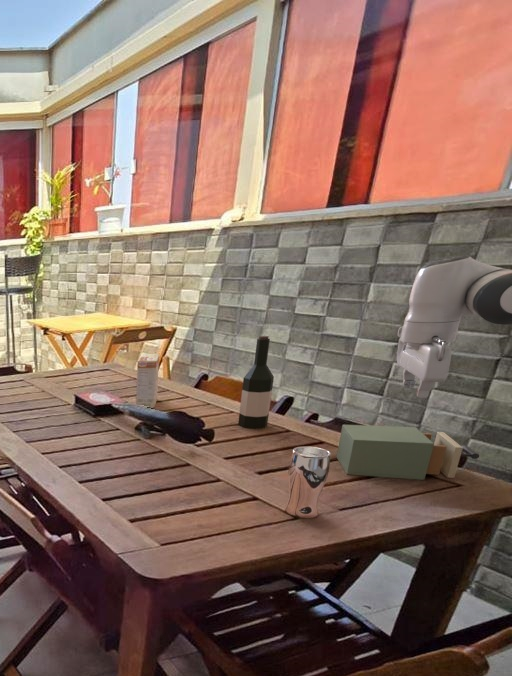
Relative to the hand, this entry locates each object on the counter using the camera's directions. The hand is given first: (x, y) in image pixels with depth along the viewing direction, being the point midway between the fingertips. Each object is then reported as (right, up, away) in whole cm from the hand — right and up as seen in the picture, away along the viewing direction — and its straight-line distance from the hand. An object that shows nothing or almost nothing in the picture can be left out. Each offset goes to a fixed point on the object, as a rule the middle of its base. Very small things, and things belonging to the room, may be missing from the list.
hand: (414, 392), depth 116 cm
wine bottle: (-3, -5, +51) cm, 51 cm away
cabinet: (+3, -18, +12) cm, 22 cm away
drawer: (+9, -18, +8) cm, 22 cm away
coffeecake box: (-22, +5, +88) cm, 90 cm away
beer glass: (-30, -28, -4) cm, 41 cm away
